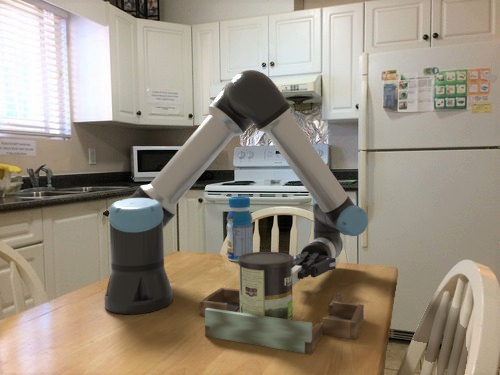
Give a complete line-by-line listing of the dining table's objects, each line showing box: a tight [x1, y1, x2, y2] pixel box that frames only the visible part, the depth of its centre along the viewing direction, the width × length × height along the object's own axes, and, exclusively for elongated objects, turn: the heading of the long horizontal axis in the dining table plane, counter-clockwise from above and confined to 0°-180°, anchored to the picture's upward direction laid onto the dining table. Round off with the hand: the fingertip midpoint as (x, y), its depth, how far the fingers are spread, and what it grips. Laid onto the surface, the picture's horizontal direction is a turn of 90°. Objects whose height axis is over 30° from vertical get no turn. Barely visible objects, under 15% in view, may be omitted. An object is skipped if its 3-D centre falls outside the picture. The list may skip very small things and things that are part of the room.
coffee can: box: [237, 251, 294, 320], centre depth 80 cm, size 10×10×14 cm
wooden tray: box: [199, 287, 365, 355], centre depth 86 cm, size 32×26×5 cm
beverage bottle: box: [226, 196, 254, 263], centre depth 136 cm, size 8×8×20 cm
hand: (289, 279), depth 90 cm, fingers closed
